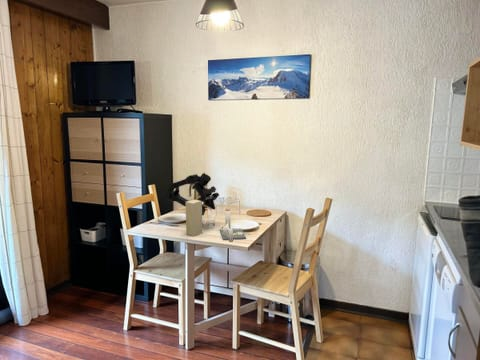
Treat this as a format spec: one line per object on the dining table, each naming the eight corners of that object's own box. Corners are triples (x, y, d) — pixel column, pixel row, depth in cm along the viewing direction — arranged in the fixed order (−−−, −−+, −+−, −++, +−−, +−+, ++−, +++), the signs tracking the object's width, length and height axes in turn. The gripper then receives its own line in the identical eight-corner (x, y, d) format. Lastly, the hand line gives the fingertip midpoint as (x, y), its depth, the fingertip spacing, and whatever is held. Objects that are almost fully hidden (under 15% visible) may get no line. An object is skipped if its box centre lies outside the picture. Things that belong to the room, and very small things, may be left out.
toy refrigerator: (194, 230, 225) (193, 199, 221) (202, 233, 220) (202, 201, 217) (185, 234, 219) (184, 201, 215) (193, 236, 214) (192, 203, 210)
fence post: (229, 233, 215) (229, 211, 212) (224, 233, 215) (223, 210, 212) (230, 229, 223) (230, 207, 220) (225, 229, 223) (225, 207, 221)
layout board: (219, 231, 224) (219, 229, 224) (241, 229, 226) (241, 228, 226) (223, 240, 208) (223, 238, 208) (246, 238, 210) (246, 236, 210)
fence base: (222, 236, 214) (222, 225, 213) (227, 235, 216) (227, 224, 214) (228, 242, 205) (228, 229, 204) (234, 241, 207) (234, 229, 205)
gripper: (198, 185, 218) (212, 205, 214) (217, 180, 233) (230, 199, 229) (189, 195, 224) (202, 215, 220) (208, 190, 239) (221, 208, 235)
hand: (214, 209), depth 225 cm, fingers closed
